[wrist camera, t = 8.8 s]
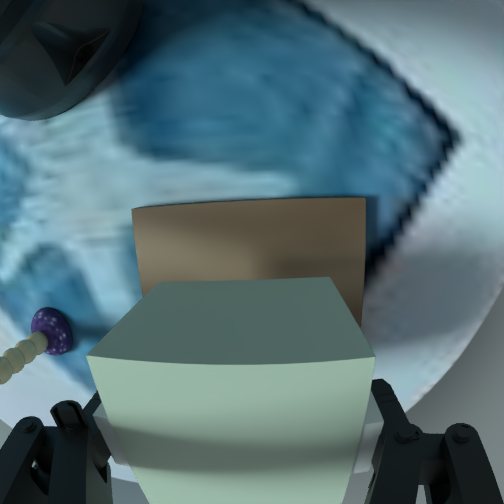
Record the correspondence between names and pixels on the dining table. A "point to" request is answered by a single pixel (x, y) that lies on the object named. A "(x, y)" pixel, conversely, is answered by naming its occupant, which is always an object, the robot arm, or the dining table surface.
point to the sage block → (237, 391)
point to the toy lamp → (37, 342)
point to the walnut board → (255, 242)
